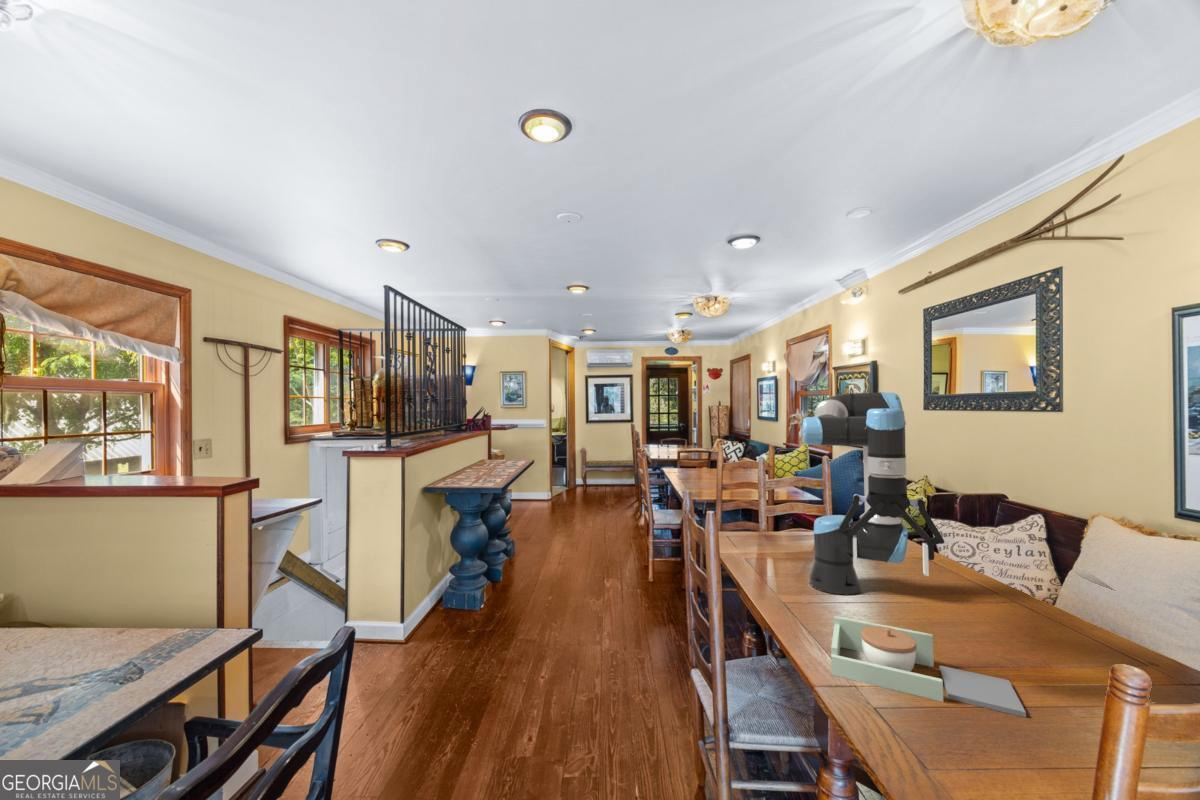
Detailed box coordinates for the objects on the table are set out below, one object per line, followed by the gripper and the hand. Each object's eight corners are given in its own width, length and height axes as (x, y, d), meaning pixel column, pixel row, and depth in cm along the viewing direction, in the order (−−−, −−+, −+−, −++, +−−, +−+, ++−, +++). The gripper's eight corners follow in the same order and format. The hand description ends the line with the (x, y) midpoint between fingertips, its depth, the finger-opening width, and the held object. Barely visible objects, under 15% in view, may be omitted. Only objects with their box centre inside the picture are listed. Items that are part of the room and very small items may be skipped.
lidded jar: (927, 687, 98) (925, 643, 98) (871, 682, 100) (870, 638, 100) (904, 660, 108) (903, 620, 108) (854, 656, 110) (853, 617, 110)
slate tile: (939, 669, 104) (939, 665, 104) (1008, 684, 98) (1008, 680, 98) (948, 698, 94) (947, 693, 94) (1026, 717, 88) (1025, 712, 88)
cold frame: (835, 643, 116) (834, 615, 116) (933, 664, 106) (932, 634, 106) (831, 674, 103) (830, 642, 103) (943, 702, 93) (942, 666, 93)
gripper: (825, 474, 108) (827, 565, 107) (958, 481, 96) (961, 584, 95) (827, 470, 114) (829, 556, 114) (951, 476, 102) (954, 572, 102)
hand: (889, 569), depth 104 cm, fingers open, 13 cm apart
